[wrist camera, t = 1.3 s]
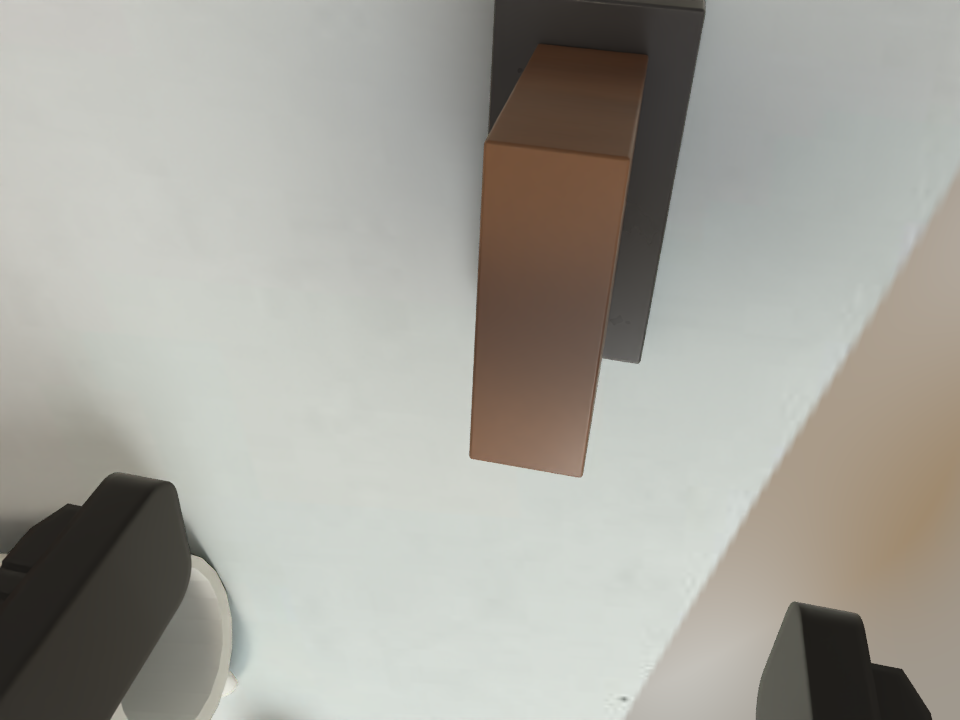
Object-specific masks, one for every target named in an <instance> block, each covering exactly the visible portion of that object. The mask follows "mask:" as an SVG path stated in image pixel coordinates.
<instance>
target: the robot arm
mask: <svg viewBox="0 0 960 720" xmlns="http://www.w3.org/2000/svg"><path fill="white" fill-rule="evenodd" d="M191 568H192V560H191V553H190V549H189V544H188V540H187V535H186V531H185V526H184V521H183V517H182V512H181V508H180V503H179V499H178V494H177V491H176V488H175V486H174V485H173V484H172V483H171V482H168V481H163V480H157V479H152V478H147V477H141V476H136V475H131V474H125V473H120V472H116V473H113V474H111V475H109V476H108V477H106V478H105V479H104V480H103V481H102V482H101V484H100V485H99V486H98V487H97V489H96V490H95V491H94V492H93V493H92V495H91V496H90V497H89V498H88V500H87V501H86V502H85V503H84V504H83V506H77V505H72V504H67V505H65V506H64V507H62V508H61V509H59V510H58V511H56V512H55V513H53V514H52V515H50V516H49V517H47V518H45V519H44V520H42V521H41V522H39V523H38V524H36V525H35V526H33V527H32V528H30V529H29V530H28V531H27V533H26V534H25V535H24V536H23V537H22V538H21V540H20V541H19V542H18V543H17V544H16V545H15V546H14V548H13V549H12V550H11V551H10V552H9V553H8V555H7V556H6V557H5V558H4V559H3V560H2V565H1V567H0V720H110V719H111V718H112V716H113V714H114V713H115V711H116V709H117V708H118V706H119V704H120V703H121V701H122V700H123V698H124V696H125V695H126V693H127V691H128V690H129V688H130V686H131V685H132V683H133V682H134V680H135V678H136V677H137V675H138V673H139V672H140V670H141V668H142V667H143V665H144V663H145V662H146V660H147V659H148V657H149V655H150V654H151V652H152V650H153V649H154V647H155V645H156V644H157V642H158V641H159V639H160V637H161V636H162V634H163V632H164V631H165V629H166V627H167V626H168V624H169V622H170V621H171V619H172V618H173V616H174V614H175V613H176V611H177V609H178V608H179V606H180V604H181V602H182V600H183V598H184V596H185V594H186V591H187V588H188V585H189V581H190V576H191ZM756 720H932V717H931V713H930V712H929V710H928V708H927V707H926V705H925V704H924V702H923V700H922V699H921V698H920V696H919V694H918V693H917V691H916V690H915V688H914V687H913V685H912V684H911V682H910V681H909V679H908V677H907V676H906V674H905V673H904V671H903V670H902V669H899V668H894V667H888V666H883V665H878V664H873V663H871V660H870V655H869V650H868V644H867V639H866V634H865V628H864V624H863V622H862V619H861V617H860V616H859V615H858V614H856V613H852V612H847V611H841V610H836V609H831V608H826V607H820V606H815V605H810V604H805V603H798V602H792V603H791V604H790V606H789V607H788V610H787V612H786V614H785V617H784V620H783V622H782V625H781V628H780V630H779V632H778V635H777V638H776V640H775V643H774V646H773V648H772V650H771V653H770V656H769V658H768V661H767V663H766V666H765V668H764V671H763V674H762V677H761V681H760V685H759V690H758V697H757V707H756Z"/></svg>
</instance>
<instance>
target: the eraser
mask: <svg viewBox="0 0 960 720" xmlns="http://www.w3.org/2000/svg"><path fill="white" fill-rule="evenodd" d="M704 17H705V0H495V5H494V26H493V46H492V66H491V86H490V106H489V126H488V136H487V138H486V140H485V142H484V153H483V174H482V196H481V217H480V238H479V260H478V281H477V302H476V323H475V345H474V366H473V387H472V409H471V430H470V451H469V456H470V458H471V459H476V460H482V461H487V462H493V463H499V464H505V465H510V466H516V467H522V468H528V469H533V470H539V471H545V472H551V473H556V474H562V475H568V476H574V477H582V475H583V471H584V465H585V459H586V452H587V446H588V440H589V434H590V428H591V422H592V416H593V410H594V404H595V398H596V392H597V386H598V380H599V374H600V367H601V361H602V358H604V359H611V360H617V361H624V362H630V363H637V364H638V363H640V361H641V356H642V350H643V345H644V340H645V334H646V329H647V324H648V318H649V313H650V308H651V302H652V297H653V291H654V286H655V281H656V275H657V270H658V265H659V259H660V254H661V248H662V243H663V238H664V232H665V227H666V222H667V216H668V211H669V205H670V200H671V195H672V189H673V184H674V179H675V173H676V168H677V163H678V157H679V152H680V146H681V141H682V136H683V130H684V125H685V120H686V114H687V109H688V103H689V98H690V93H691V87H692V82H693V77H694V71H695V66H696V60H697V55H698V50H699V44H700V39H701V34H702V28H703V23H704Z"/></svg>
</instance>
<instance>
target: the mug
mask: <svg viewBox="0 0 960 720" xmlns="http://www.w3.org/2000/svg"><path fill="white" fill-rule="evenodd" d="M7 555H8V554H0V567H1V565H2V560H3V559H4V558H5V557H6V556H7ZM191 560H192V568H191V576H190V581H189V585H188V588H187V591H186V594H185V596H184V598H183V600H182V602H181V604H180V606H179V608H178V609H177V611H176V613H175V614H174V616H173V618H172V619H171V621H170V622H169V624H168V626H167V627H166V629H165V631H164V632H163V634H162V636H161V637H160V639H159V641H158V642H157V644H156V645H155V647H154V649H153V650H152V652H151V654H150V655H149V657H148V659H147V660H146V662H145V663H144V665H143V667H142V668H141V670H140V672H139V673H138V675H137V677H136V678H135V680H134V682H133V683H132V685H131V686H130V688H129V690H128V691H127V693H126V695H125V696H124V698H123V700H122V701H121V703H120V704H119V706H118V708H117V709H116V711H115V713H114V714H113V716H112V718H111V719H110V720H211V718H212V716H213V714H214V713H215V711H216V709H217V707H218V705H219V702H220V699H221V698H222V697H225V696H227V695H229V694H231V693H232V692H233V691H234V690H235V689H236V687H237V686H238V681H237V679H236V678H235V677H234V675H233V674H232V673H231V672H230V671H229V665H230V658H231V652H232V617H231V613H230V608H229V603H228V598H227V593H226V591H225V589H224V587H223V585H222V583H221V581H220V579H219V577H218V575H217V572H216V571H215V570H214V569H213V568H212V567H211V566H210V565H209V564H208V563H207V562H206V561H205V560H204V559H203V558H201V557H197V556H194V555H191Z"/></svg>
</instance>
